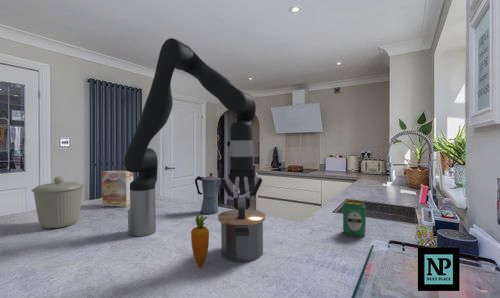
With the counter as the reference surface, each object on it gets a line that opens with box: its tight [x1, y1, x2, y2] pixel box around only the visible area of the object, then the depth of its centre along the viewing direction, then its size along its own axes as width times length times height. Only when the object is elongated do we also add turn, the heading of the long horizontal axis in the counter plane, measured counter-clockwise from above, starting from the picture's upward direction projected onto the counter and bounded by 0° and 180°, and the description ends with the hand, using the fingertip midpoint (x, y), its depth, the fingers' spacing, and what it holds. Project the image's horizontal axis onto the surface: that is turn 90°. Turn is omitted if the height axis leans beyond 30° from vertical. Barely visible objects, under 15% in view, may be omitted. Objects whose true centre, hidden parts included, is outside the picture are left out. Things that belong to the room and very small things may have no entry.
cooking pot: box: [220, 221, 264, 263], centre depth 81 cm, size 13×17×11 cm
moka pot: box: [194, 172, 222, 215], centre depth 129 cm, size 10×15×20 cm, turn 79°
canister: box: [31, 176, 85, 230], centre depth 110 cm, size 18×18×21 cm
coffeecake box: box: [101, 170, 134, 208], centre depth 144 cm, size 15×7×20 cm, turn 81°
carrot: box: [190, 214, 210, 268], centre depth 72 cm, size 5×5×15 cm
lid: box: [217, 200, 266, 226], centre depth 81 cm, size 15×15×5 cm
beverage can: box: [342, 199, 367, 238], centre depth 98 cm, size 8×8×12 cm
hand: (241, 208), depth 81 cm, fingers open, 2 cm apart
